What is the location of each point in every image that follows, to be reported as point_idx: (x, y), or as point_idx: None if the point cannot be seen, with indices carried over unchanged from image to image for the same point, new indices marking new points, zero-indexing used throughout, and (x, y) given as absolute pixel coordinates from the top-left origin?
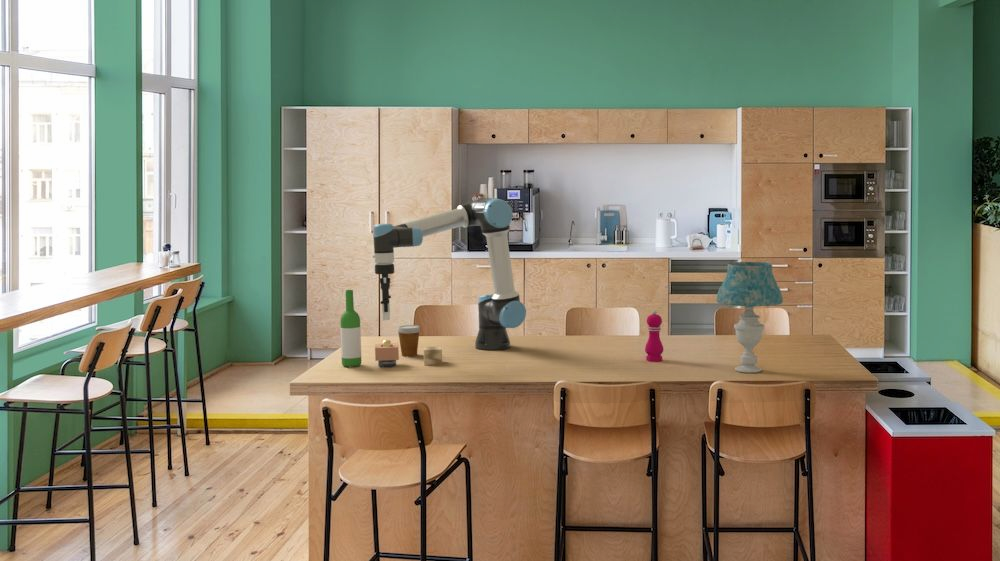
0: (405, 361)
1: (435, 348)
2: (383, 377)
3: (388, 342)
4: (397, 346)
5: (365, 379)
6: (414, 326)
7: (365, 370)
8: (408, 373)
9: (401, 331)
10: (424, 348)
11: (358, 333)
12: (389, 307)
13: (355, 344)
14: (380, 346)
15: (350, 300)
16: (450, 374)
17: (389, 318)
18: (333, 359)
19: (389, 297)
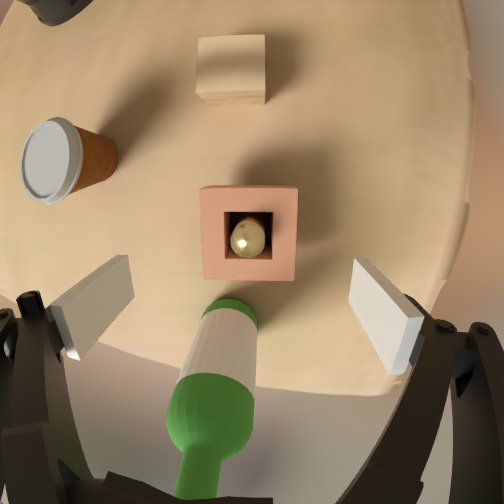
0: (188, 163)
1: (237, 52)
2: (411, 235)
3: (263, 232)
4: (277, 191)
5: (416, 279)
6: (30, 143)
7: (309, 284)
8: (381, 163)
9: (73, 184)
10: (228, 88)
11: (238, 363)
12: (103, 276)
13: (251, 348)
14: (262, 260)
15: (213, 497)
16: (405, 63)
17: (369, 264)
18: (144, 354)
19: (37, 306)
